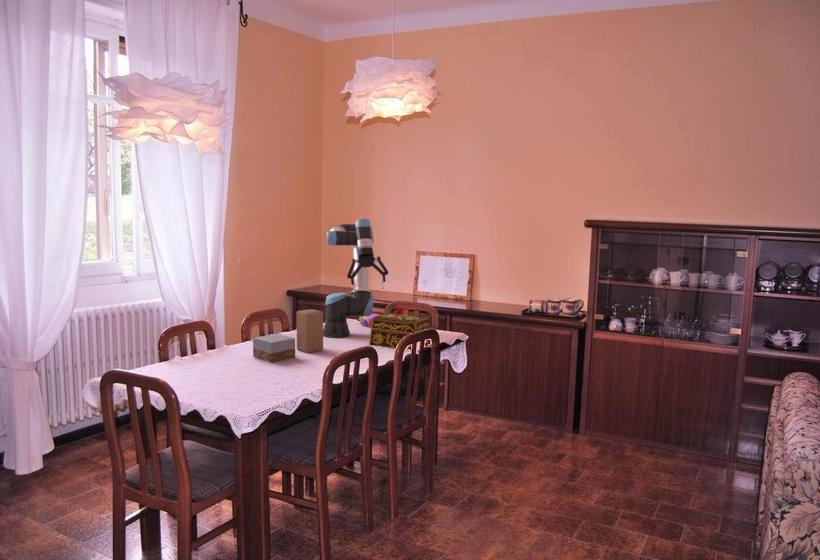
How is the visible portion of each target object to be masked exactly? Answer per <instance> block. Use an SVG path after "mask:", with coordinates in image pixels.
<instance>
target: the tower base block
mask: <svg viewBox="0 0 820 560" xmlns="http://www.w3.org/2000/svg"><path fill="white" fill-rule="evenodd" d="M252 357H255V358H254V359H256V358H258V359H257V360H259V359H262V360H261V361H263V360H265V361H264V362H266V361H268V362H267V363H270V362H271V364H273V363H272V362H274V363H277V361H278V362H282V361H281V360H283V361H287V360H286V359H288V360H291V358H292V359H296V348H295V349H290V350H285V351H280V352H275V353H268V352H265V351H261V350H257V349H254V348H253V347H252Z"/></svg>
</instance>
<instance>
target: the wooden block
mask: <svg viewBox="0 0 820 560" xmlns="http://www.w3.org/2000/svg"><path fill="white" fill-rule="evenodd" d="M323 329H324V311H322V310H317V309H313V308H311V309H301V310H297V311H296V350H297V351H300V352H303V353H307V354H309V353H310V352H311V353H316V352H320V351H321V352H322V351H323V350H324V336H323Z"/></svg>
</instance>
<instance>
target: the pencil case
mask: <svg viewBox="0 0 820 560" xmlns="http://www.w3.org/2000/svg"><path fill="white" fill-rule="evenodd" d="M379 315H380V314H378V313H372V314H371V316H364V317H363V316H359V317H357V318H356V319H357V322H359V323H360V325H361V326H363V325H365V327H367V326H368V328H371V323H372V318H373V317H375V316H379Z"/></svg>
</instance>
